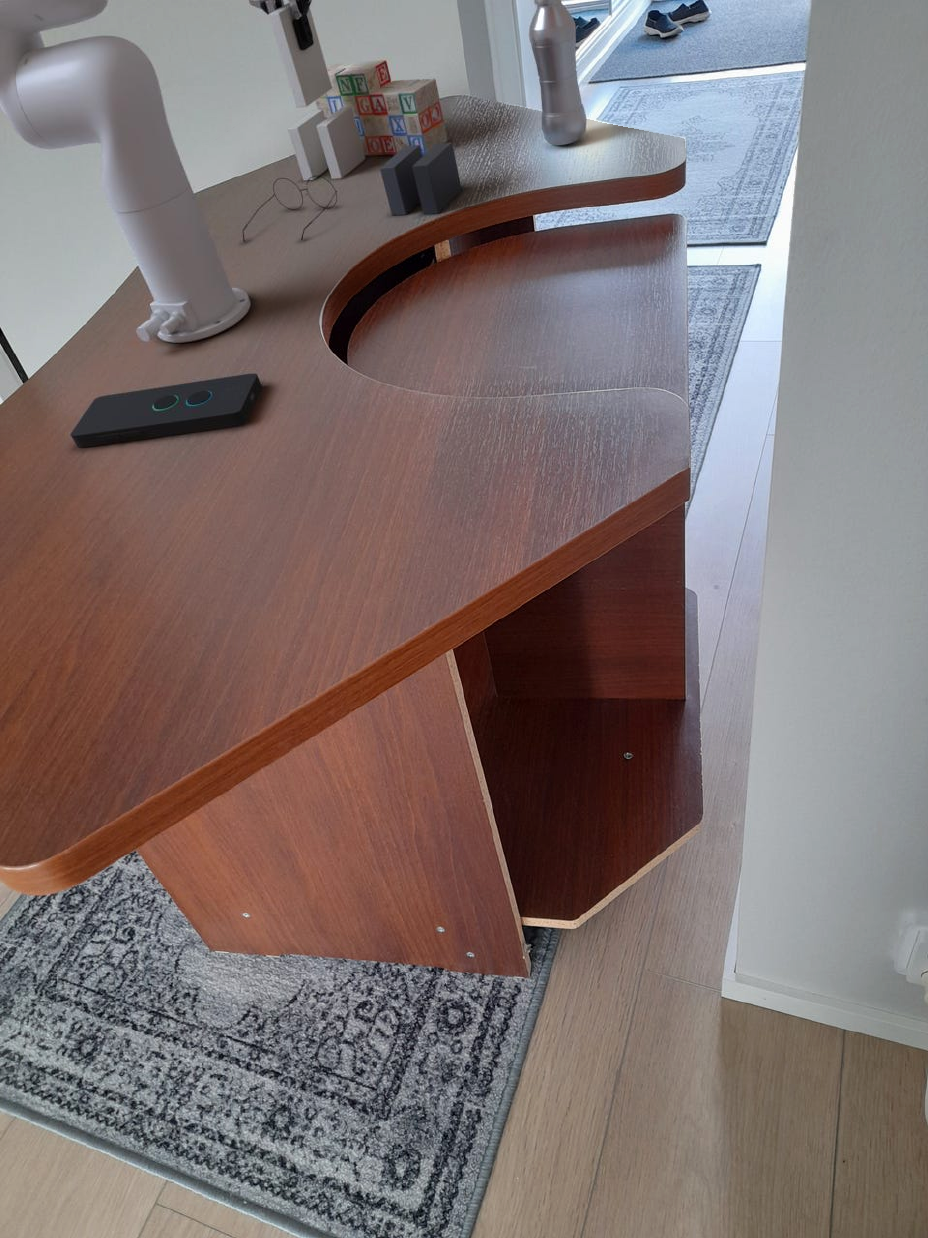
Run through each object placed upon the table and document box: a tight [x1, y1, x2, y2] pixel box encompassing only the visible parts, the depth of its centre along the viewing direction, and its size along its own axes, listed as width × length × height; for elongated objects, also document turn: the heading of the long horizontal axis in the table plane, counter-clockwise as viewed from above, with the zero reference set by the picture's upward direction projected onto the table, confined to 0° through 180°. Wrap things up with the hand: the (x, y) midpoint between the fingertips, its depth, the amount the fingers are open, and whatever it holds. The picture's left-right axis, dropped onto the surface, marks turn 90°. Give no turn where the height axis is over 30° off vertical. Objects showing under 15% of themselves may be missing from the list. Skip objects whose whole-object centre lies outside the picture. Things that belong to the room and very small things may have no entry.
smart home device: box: [70, 373, 263, 449], centre depth 98 cm, size 8×2×20 cm
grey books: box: [379, 141, 463, 216], centre depth 127 cm, size 8×8×6 cm
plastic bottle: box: [528, 0, 588, 146], centre depth 128 cm, size 6×7×20 cm
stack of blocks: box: [314, 59, 448, 156], centre depth 147 cm, size 21×6×12 cm, turn 55°
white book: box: [267, 2, 332, 109], centre depth 137 cm, size 8×2×12 cm, turn 155°
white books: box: [287, 107, 366, 181], centre depth 146 cm, size 8×8×8 cm
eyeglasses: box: [242, 175, 338, 243], centre depth 132 cm, size 11×13×5 cm
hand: (299, 47), depth 137 cm, fingers closed on white book, 2 cm apart
